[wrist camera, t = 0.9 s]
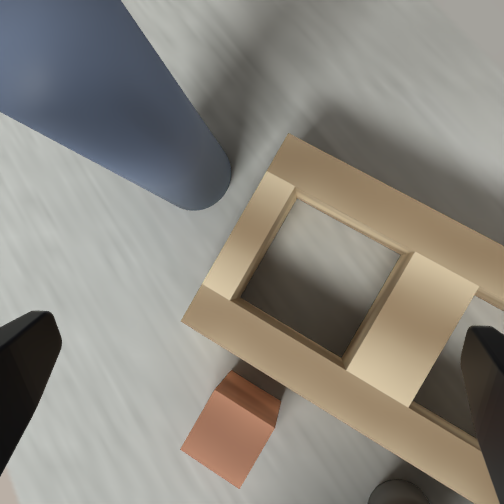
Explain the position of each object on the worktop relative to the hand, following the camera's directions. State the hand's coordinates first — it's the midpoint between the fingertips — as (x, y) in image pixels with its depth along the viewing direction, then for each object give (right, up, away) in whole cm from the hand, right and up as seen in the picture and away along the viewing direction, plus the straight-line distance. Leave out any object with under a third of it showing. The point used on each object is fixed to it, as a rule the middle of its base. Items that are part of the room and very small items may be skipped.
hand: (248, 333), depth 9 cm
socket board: (+6, -4, +12) cm, 14 cm away
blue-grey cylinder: (-3, +6, +14) cm, 16 cm away
